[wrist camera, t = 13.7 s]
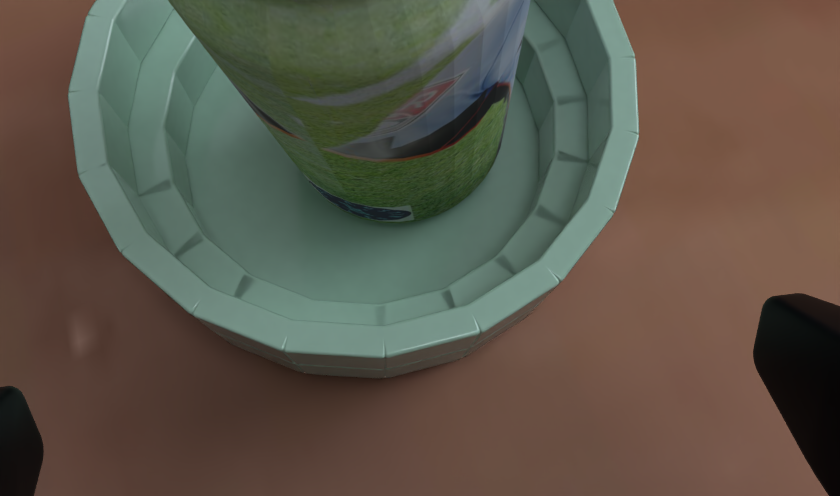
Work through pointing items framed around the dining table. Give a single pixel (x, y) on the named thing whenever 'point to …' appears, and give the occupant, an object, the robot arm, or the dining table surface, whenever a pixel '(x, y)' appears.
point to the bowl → (330, 226)
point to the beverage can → (373, 91)
